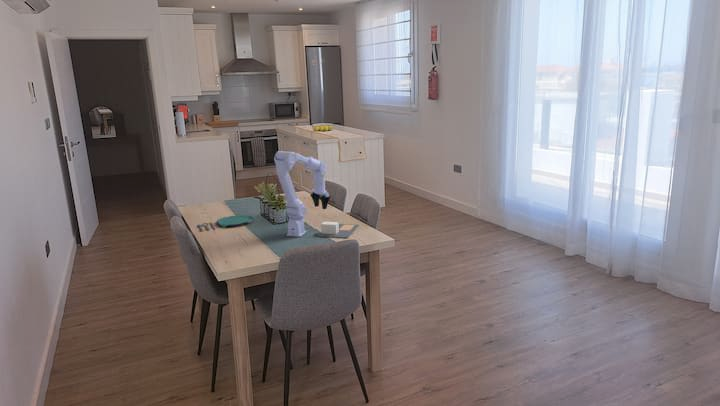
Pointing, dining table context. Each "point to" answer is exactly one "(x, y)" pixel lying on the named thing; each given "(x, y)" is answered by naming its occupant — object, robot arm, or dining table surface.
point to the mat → (341, 231)
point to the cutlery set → (230, 221)
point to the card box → (330, 227)
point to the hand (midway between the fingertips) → (320, 207)
